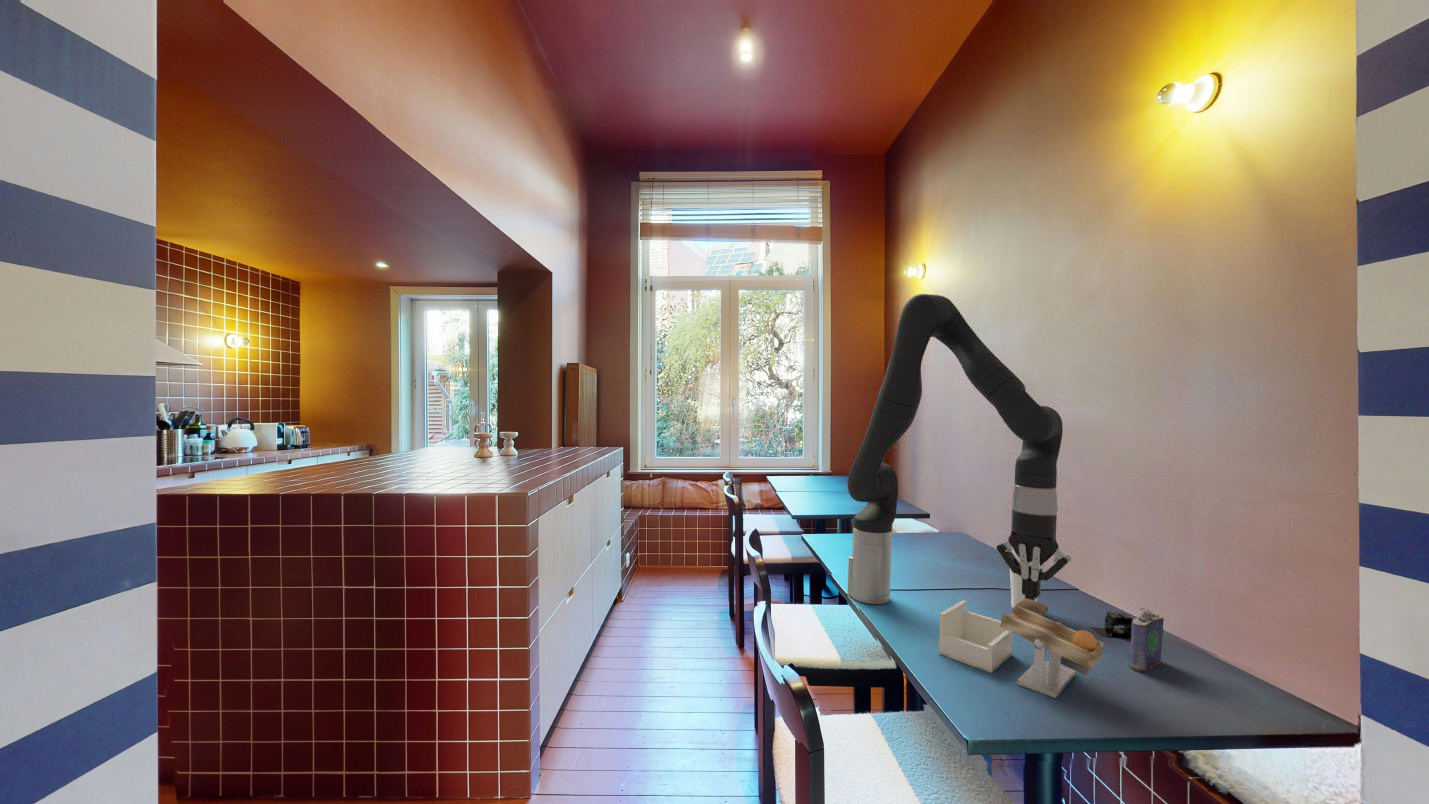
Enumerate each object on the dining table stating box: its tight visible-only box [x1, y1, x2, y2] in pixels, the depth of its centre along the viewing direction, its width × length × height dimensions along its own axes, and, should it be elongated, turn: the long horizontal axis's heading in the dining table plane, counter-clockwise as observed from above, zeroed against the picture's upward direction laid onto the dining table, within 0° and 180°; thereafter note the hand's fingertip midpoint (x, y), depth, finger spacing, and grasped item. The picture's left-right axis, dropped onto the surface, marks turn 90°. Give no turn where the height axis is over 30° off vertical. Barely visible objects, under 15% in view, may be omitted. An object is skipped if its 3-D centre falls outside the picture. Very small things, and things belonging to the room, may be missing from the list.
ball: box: [1073, 629, 1097, 652], centre depth 97 cm, size 4×4×4 cm
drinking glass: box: [1009, 548, 1039, 609], centre depth 134 cm, size 7×7×15 cm
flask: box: [1129, 607, 1164, 673], centre depth 108 cm, size 9×3×11 cm, turn 121°
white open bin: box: [938, 600, 1014, 674], centre depth 110 cm, size 10×11×8 cm
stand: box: [1016, 621, 1076, 699], centre depth 101 cm, size 6×12×9 cm, turn 134°
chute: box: [1000, 598, 1106, 676], centre depth 103 cm, size 15×13×4 cm
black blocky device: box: [1088, 611, 1133, 640], centre depth 122 cm, size 12×7×5 cm, turn 84°
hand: (1030, 598), depth 109 cm, fingers closed
